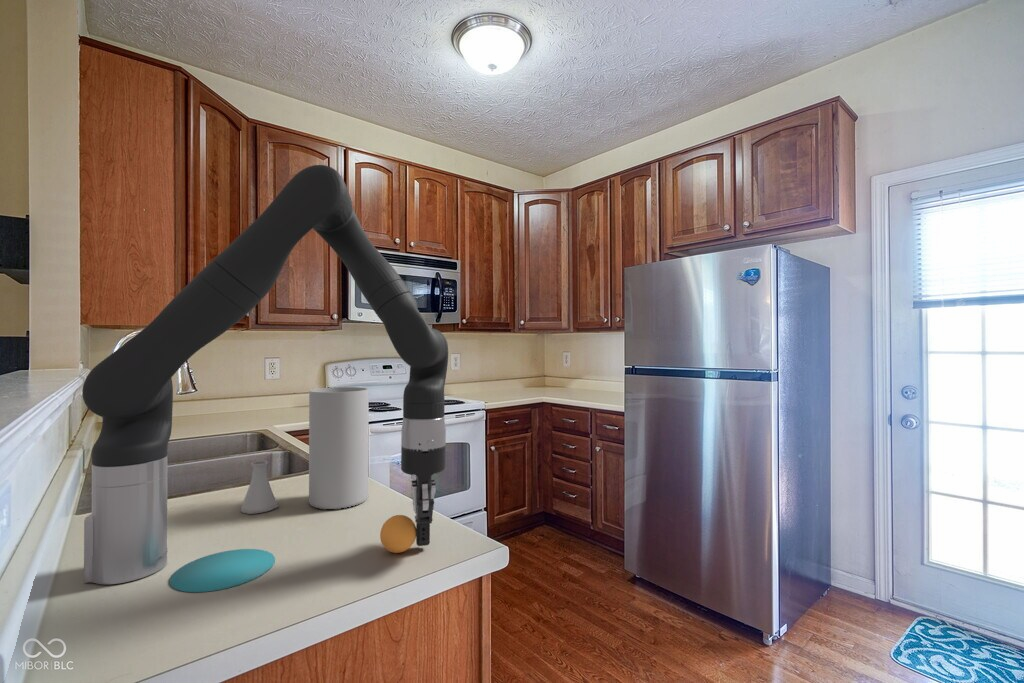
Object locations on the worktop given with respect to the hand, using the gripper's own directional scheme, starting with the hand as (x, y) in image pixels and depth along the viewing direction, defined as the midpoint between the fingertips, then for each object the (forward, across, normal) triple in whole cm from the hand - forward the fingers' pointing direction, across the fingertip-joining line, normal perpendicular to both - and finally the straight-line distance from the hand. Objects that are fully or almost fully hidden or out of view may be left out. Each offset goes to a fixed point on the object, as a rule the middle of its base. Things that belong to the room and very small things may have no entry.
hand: (422, 543), depth 82 cm
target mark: (+1, 0, -30) cm, 31 cm away
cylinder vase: (+1, -30, -16) cm, 34 cm away
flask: (+1, -29, -32) cm, 44 cm away
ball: (-2, 0, -4) cm, 5 cm away
